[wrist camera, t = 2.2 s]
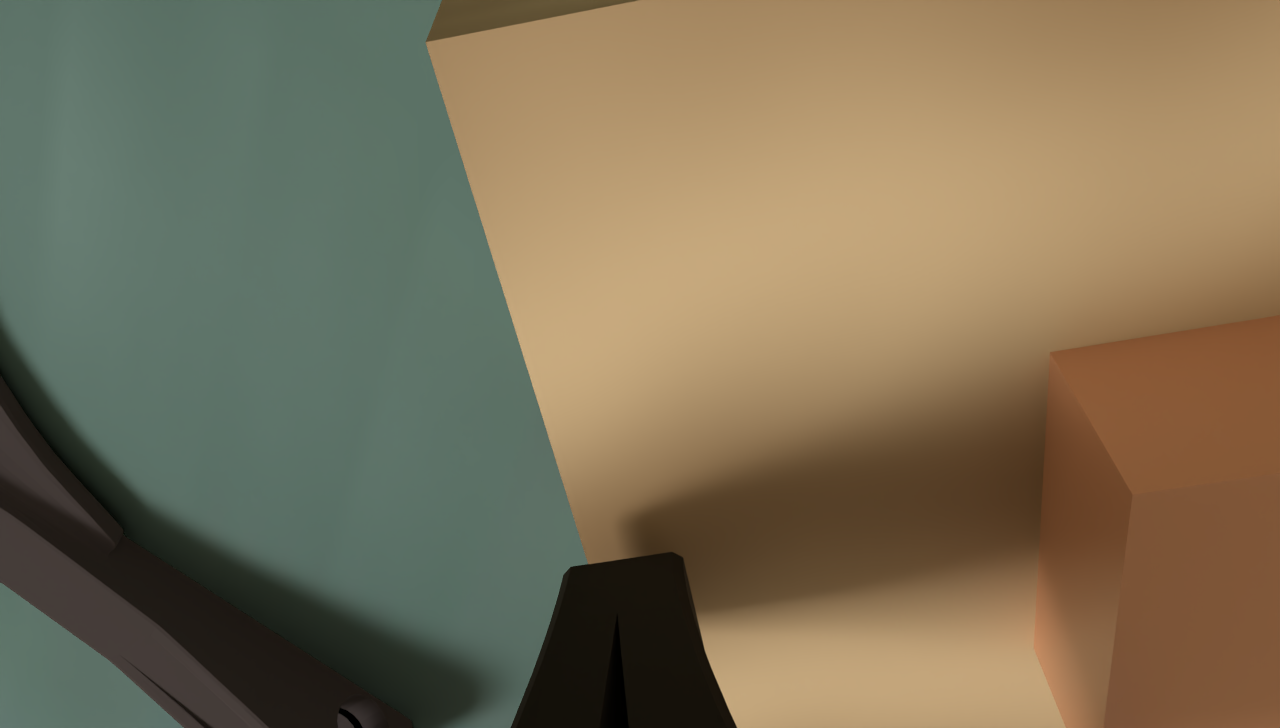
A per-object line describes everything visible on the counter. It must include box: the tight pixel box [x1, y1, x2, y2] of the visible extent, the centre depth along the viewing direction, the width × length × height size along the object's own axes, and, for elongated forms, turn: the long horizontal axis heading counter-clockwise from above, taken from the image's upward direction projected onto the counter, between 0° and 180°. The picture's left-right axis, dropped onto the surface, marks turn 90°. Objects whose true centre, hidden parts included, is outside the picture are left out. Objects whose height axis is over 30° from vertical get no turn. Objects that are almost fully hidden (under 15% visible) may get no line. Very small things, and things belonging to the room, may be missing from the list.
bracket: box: [0, 375, 413, 728], centre depth 15 cm, size 14×15×3 cm
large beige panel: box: [426, 0, 1280, 728], centre depth 14 cm, size 14×12×2 cm
